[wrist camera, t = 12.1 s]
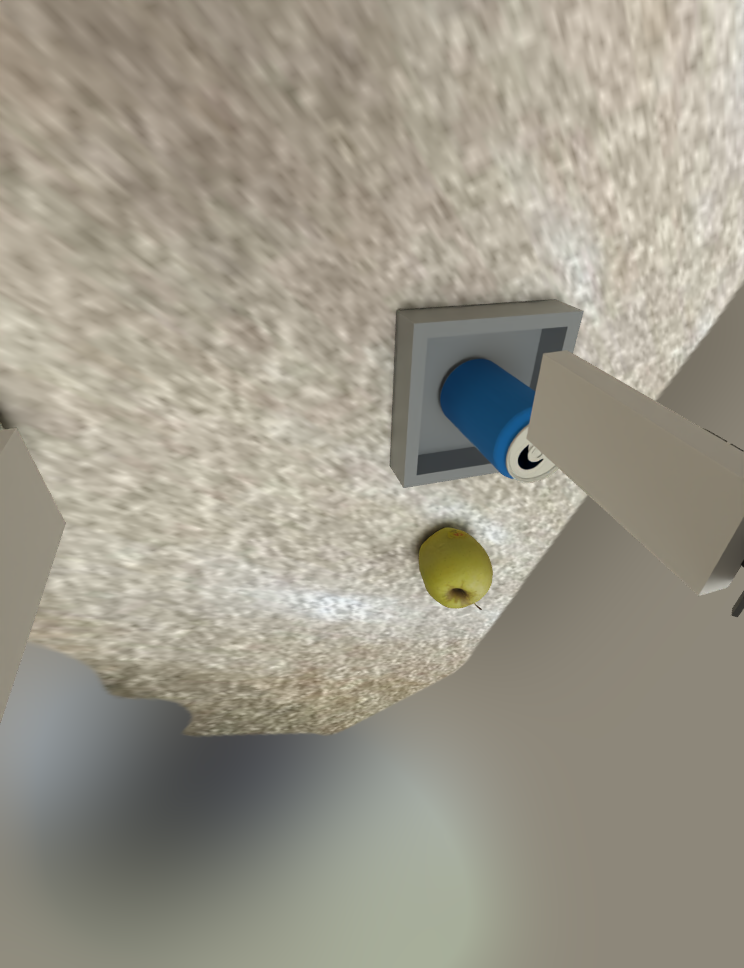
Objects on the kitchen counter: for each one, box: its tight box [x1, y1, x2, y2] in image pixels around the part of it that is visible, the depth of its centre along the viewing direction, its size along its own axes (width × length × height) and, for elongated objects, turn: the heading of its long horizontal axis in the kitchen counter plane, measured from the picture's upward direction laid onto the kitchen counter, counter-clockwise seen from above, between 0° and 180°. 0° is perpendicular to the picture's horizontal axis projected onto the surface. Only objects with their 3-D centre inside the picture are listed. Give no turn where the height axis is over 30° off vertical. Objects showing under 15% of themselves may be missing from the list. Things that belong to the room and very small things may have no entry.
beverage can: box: [440, 359, 559, 483], centre depth 41 cm, size 6×6×12 cm
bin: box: [390, 300, 584, 488], centre depth 44 cm, size 15×15×4 cm
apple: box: [419, 527, 493, 610], centre depth 53 cm, size 8×8×10 cm
